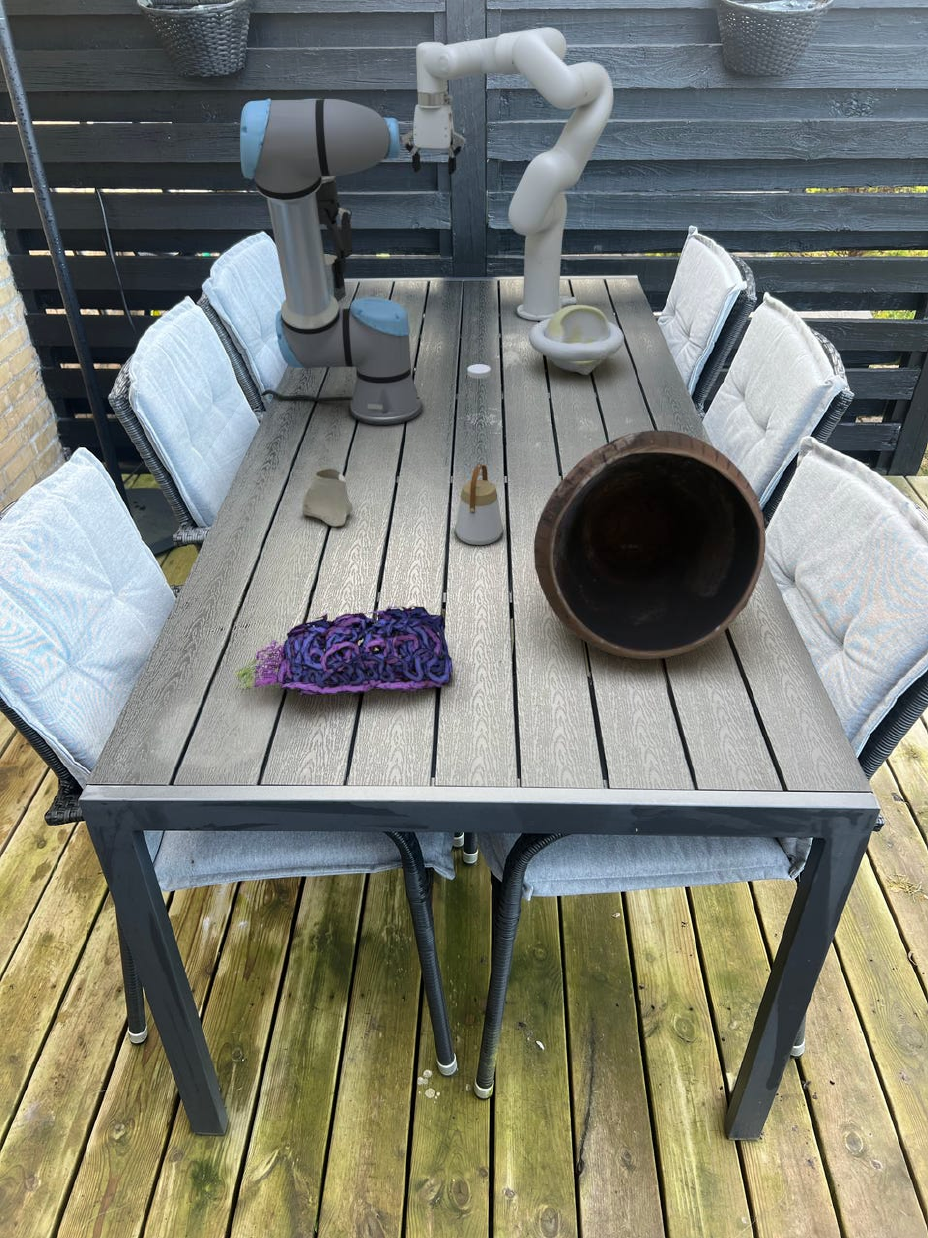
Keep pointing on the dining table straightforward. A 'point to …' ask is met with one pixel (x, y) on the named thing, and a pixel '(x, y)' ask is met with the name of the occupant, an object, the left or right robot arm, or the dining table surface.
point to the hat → (576, 338)
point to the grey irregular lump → (327, 498)
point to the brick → (333, 278)
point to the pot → (650, 545)
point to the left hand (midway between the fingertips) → (329, 285)
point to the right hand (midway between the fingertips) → (434, 172)
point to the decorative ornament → (358, 654)
